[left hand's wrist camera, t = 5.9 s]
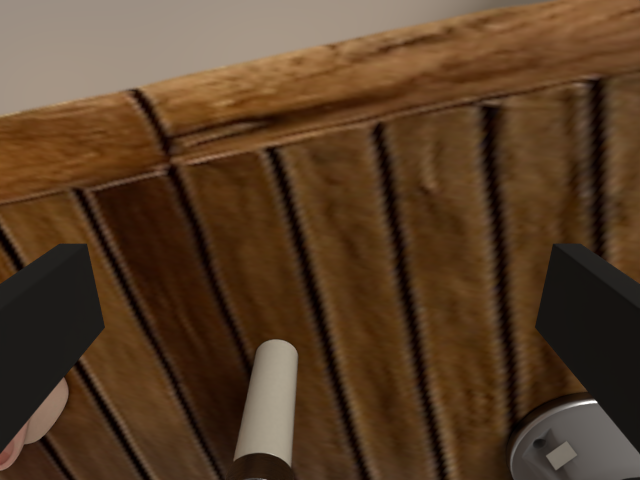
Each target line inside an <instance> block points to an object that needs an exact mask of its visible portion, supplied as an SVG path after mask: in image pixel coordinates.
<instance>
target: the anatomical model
mask: <svg viewBox="0 0 640 480" xmlns="http://www.w3.org/2000/svg"><path fill="white" fill-rule="evenodd" d="M67 399H68V386H67V383H66V380H65V378H64V377H63V379H62V380H61V381H60V382H59V384H58V385H57V386H56V387H55V388H54V390H53V391H52V392H51V393H50V394H49V396H48V397H47V398H46V399H45V401H44V402H43V403H42V404H41V405H40V407H39V408H38V409H37V410H36V411H35V413H34V414H33V415H32V416H31V417H30V419H29V420H28V421H27V422H26V424H25V425H24V426H23V427H22V428H21V430H20V431H19V432H18V433H17V434H16V436H15V437H14V438H13V439H12V440H11V442H10V443H9V444H8V445H7V447H6V448H5V449H4V450H3V451H2V453H1V454H0V470H4V469H6V468H8V467H9V466H11V465H12V464H13V463H14V461H15V460H16V459H17V457H18V456H19V454H20V452H21V450H22V448H23V445H24V444H29V443H33V442H35V441H37V440H39V439H40V438H41V437H43V436H44V435H45V434H46V433H47V432H48V430H49V429H50V428H51V427H52V426H53V424H54V423H55V421H56V420H57V419H58V417H59V415H60V414H61V412H62V410H63V409H64V407H65V404H66V402H67Z"/></svg>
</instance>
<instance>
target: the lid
mask: <svg viewBox="0 0 640 480" xmlns="http://www.w3.org/2000/svg"><path fill="white" fill-rule="evenodd" d="M226 480H294V475H293V471H292V469H291V467H290V466H289V465H288V464H287V463H286V462H285V461H284V460H282V459H281V458H279V457H277V456H275V455H271V454H267V453H251V454H247V455H244V456H241V457H239V458H238V459H236V460H235V461H234V462H233V463H232V464H231V465H230V467H229V469H228V471H227V475H226Z"/></svg>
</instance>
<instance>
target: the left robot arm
mask: <svg viewBox="0 0 640 480" xmlns="http://www.w3.org/2000/svg"><path fill="white" fill-rule="evenodd" d="M104 328H105V326H104V321H103V317H102V312H101V307H100V303H99V298H98V293H97V289H96V284H95V279H94V275H93V270H92V266H91V261H90V256H89V252H88V247H87V244H58V245H57V246H56V247H54V248H53V249H51V250H50V251H48V252H47V253H45V254H44V255H42V256H41V257H39V258H38V259H36V260H35V261H33V262H32V263H31V264H29V265H28V266H26V267H25V268H23V269H22V270H20V271H19V272H17V273H16V274H14V275H13V276H11V277H10V278H8V279H7V280H6V281H4V282H3V283H1V284H0V454H1V453H2V451H3V450H4V449H5V448H6V447H7V445H8V444H9V443H10V442H11V440H12V439H13V438H14V437H15V436H16V434H17V433H18V432H19V431H20V430H21V428H22V427H23V426H24V425H25V424H26V422H27V421H28V420H29V419H30V417H31V416H32V415H33V414H34V413H35V411H36V410H37V409H38V408H39V407H40V405H41V404H42V403H43V402H44V401H45V399H46V398H47V397H48V396H49V394H50V393H51V392H52V391H53V390H54V388H55V387H56V386H57V385H58V384H59V382H60V381H61V380H62V379H63V377H64V376H65V375H66V374H67V373H68V371H69V370H70V369H71V368H72V367H73V365H74V364H75V363H76V362H77V361H78V359H79V358H80V357H81V356H82V354H83V353H84V352H85V351H86V350H87V348H88V347H89V346H90V345H91V344H92V342H93V341H94V340H95V339H96V338H97V336H98V335H99V334H100V333H101V331H102V330H103V329H104ZM535 328H536V329H537V330H538V331H539V333H540V334H541V335H542V336H543V338H544V339H545V340H546V341H547V342H548V344H549V345H550V346H551V347H552V348H553V350H554V351H555V352H556V353H557V354H558V356H559V357H560V358H561V359H562V361H563V362H564V363H565V364H566V365H567V367H568V368H569V369H570V370H571V371H572V373H573V374H574V375H575V376H576V377H577V379H578V380H579V381H580V382H581V384H582V385H583V386H584V387H585V388H586V390H587V391H588V392H584V393H576V394H571V395H567V396H563V397H560V398H557V399H555V400H552V401H550V402H548V403H546V404H544V405H542V406H540V407H539V408H537V409H535V410H534V411H533V412H531V413H530V414H529V415H527V416H526V417H525V418H524V419H523V420H522V421H521V422H520V423H519V424H518V426H517V427H516V428H515V430H514V431H513V433H512V435H511V436H510V439H509V441H508V444H507V448H506V462H507V465H508V468H509V470H510V472H511V474H512V477H513V479H514V480H640V284H639V283H637V282H636V281H634V280H633V279H632V278H630V277H629V276H627V275H626V274H624V273H623V272H621V271H620V270H618V269H617V268H615V267H614V266H612V265H611V264H609V263H608V262H607V261H605V260H604V259H602V258H601V257H599V256H598V255H596V254H595V253H593V252H592V251H590V250H589V249H587V248H586V247H584V246H583V245H582V244H553V247H552V252H551V256H550V261H549V266H548V270H547V275H546V279H545V284H544V289H543V293H542V298H541V303H540V307H539V312H538V317H537V321H536V326H535Z"/></svg>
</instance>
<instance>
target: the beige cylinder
mask: <svg viewBox="0 0 640 480" xmlns="http://www.w3.org/2000/svg"><path fill="white" fill-rule="evenodd" d="M297 369H298V353H297V351H296V349H295V348H294V347H293V346H292V345H291V344H290V343H288V342H286V341H283V340H269V341H266V342H264V343H263V344H261V345H260V346H259V347H258V349H257V351H256V354H255V359H254V364H253V368H252V373H251V378H250V383H249V387H248V392H247V397H246V402H245V407H244V411H243V416H242V421H241V426H240V430H239V435H238V440H237V445H236V449H235V454H234V459H233V462H234V461H235V460H236V459H238V458H239V457H241V456H244V455H247V454H251V453H267V454H271V455H275V456H277V457H279V458H281V459H282V460H284V461H285V462H286V463H287V464H288V465H289V466H290V467H291V463H292V448H293V432H294V416H295V401H296V385H297Z"/></svg>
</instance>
